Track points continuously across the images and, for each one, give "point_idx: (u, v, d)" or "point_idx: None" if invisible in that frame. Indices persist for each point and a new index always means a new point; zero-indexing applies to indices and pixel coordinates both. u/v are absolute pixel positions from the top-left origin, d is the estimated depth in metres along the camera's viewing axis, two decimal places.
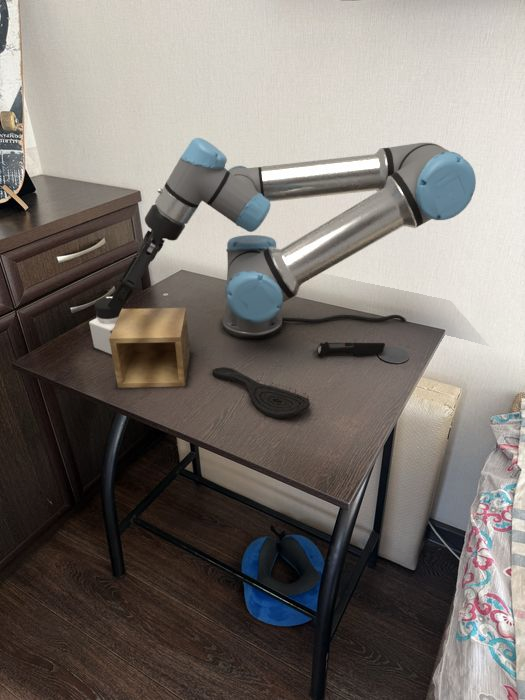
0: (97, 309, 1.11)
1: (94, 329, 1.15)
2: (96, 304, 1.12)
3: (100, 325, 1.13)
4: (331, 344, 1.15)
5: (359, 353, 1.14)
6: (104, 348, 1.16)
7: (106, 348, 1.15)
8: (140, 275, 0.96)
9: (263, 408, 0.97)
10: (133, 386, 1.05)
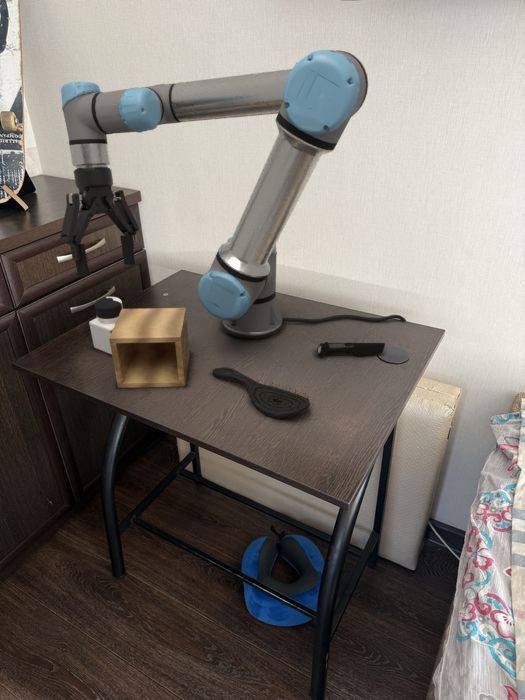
0: (97, 309, 1.12)
1: (94, 329, 1.15)
2: (96, 304, 1.12)
3: (100, 325, 1.13)
4: (331, 344, 1.15)
5: (359, 353, 1.14)
6: (104, 348, 1.16)
7: (106, 348, 1.15)
8: (69, 225, 0.99)
9: (263, 408, 0.97)
10: (133, 386, 1.05)
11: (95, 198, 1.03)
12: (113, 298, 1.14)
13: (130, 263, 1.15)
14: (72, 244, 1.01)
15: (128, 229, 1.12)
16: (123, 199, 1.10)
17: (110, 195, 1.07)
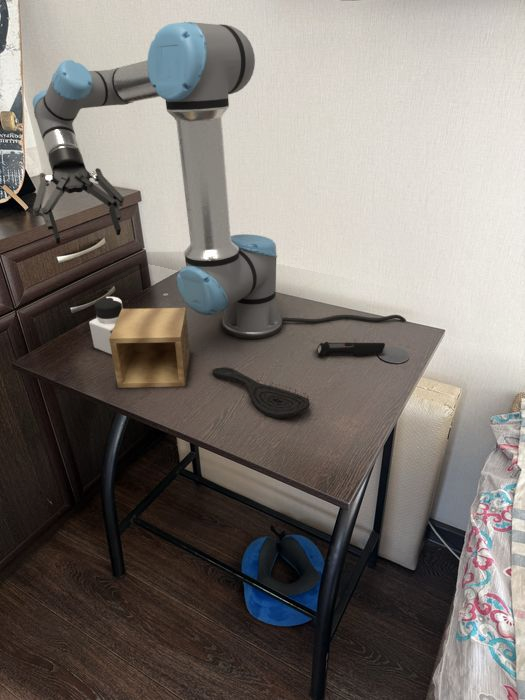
0: (97, 309, 1.12)
1: (94, 329, 1.15)
2: (96, 304, 1.12)
3: (100, 325, 1.13)
4: (331, 344, 1.15)
5: (359, 353, 1.14)
6: (104, 348, 1.16)
7: (106, 348, 1.15)
8: (36, 198, 1.12)
9: (263, 408, 0.97)
10: (133, 386, 1.05)
11: None
12: (113, 298, 1.14)
13: (117, 230, 1.17)
14: (42, 214, 1.12)
15: (109, 199, 1.17)
16: (100, 175, 1.18)
17: (83, 173, 1.17)
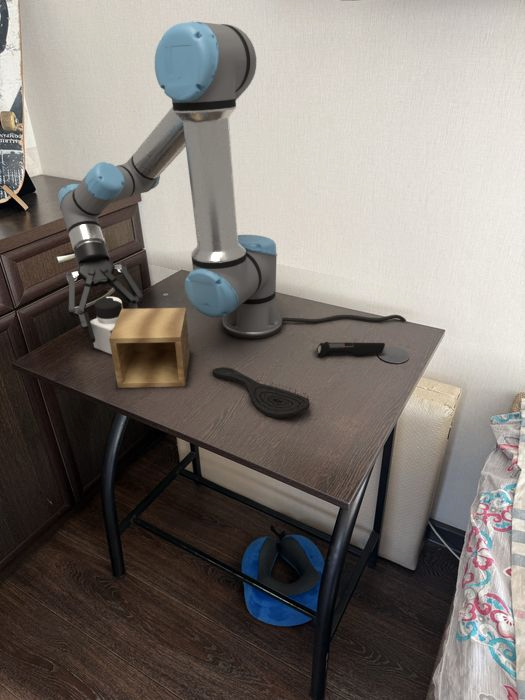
0: (97, 309, 1.12)
1: (94, 329, 1.15)
2: (96, 304, 1.12)
3: (100, 325, 1.13)
4: (331, 344, 1.15)
5: (359, 353, 1.14)
6: (104, 348, 1.16)
7: (106, 348, 1.15)
8: None
9: (263, 408, 0.97)
10: (133, 386, 1.05)
11: (89, 270, 1.15)
12: (113, 298, 1.14)
13: None
14: (77, 314, 1.13)
15: (129, 297, 1.17)
16: (125, 270, 1.19)
17: (109, 265, 1.18)
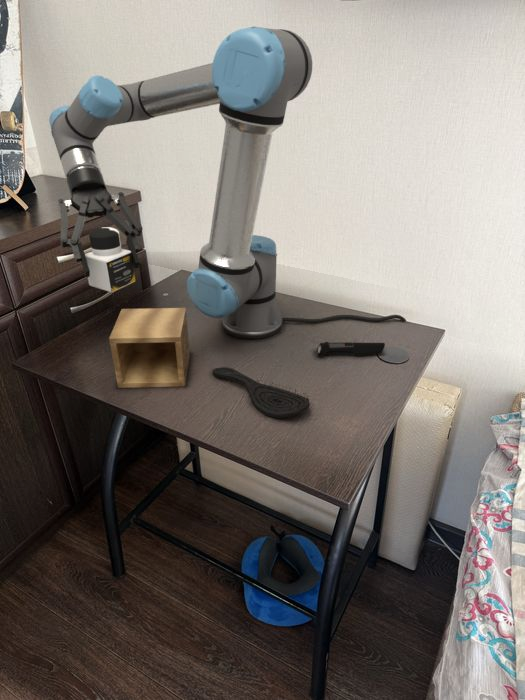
0: (92, 239, 1.01)
1: (88, 263, 1.04)
2: (91, 233, 1.01)
3: (96, 258, 1.02)
4: (331, 344, 1.15)
5: (359, 353, 1.14)
6: (100, 284, 1.05)
7: (102, 284, 1.05)
8: None
9: (263, 408, 0.97)
10: (133, 386, 1.05)
11: (83, 198, 1.05)
12: (109, 228, 1.03)
13: (135, 263, 1.05)
14: (70, 245, 1.02)
15: (127, 228, 1.06)
16: (122, 200, 1.08)
17: (105, 195, 1.07)
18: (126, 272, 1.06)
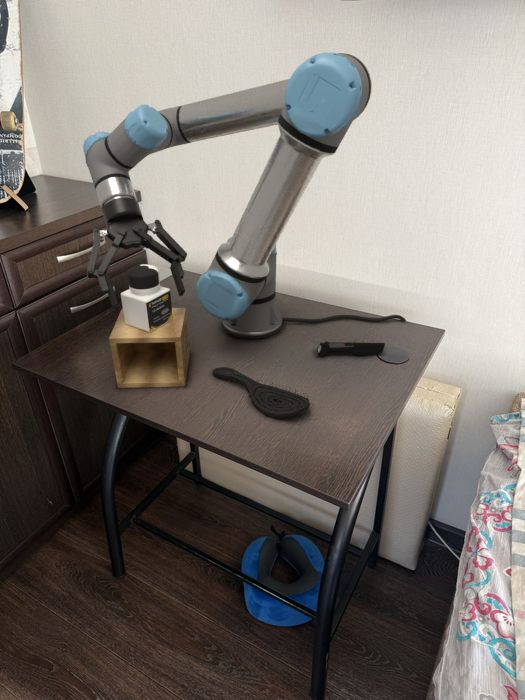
0: (131, 278, 0.96)
1: (126, 302, 1.00)
2: (129, 272, 0.97)
3: (134, 297, 0.98)
4: (331, 344, 1.15)
5: (359, 353, 1.14)
6: (137, 324, 1.01)
7: (140, 323, 1.00)
8: None
9: (263, 408, 0.97)
10: (133, 386, 1.05)
11: (120, 229, 1.00)
12: (148, 266, 0.99)
13: (180, 291, 1.01)
14: (97, 276, 0.97)
15: (171, 255, 1.02)
16: (160, 227, 1.03)
17: (142, 226, 1.02)
18: (165, 311, 1.02)
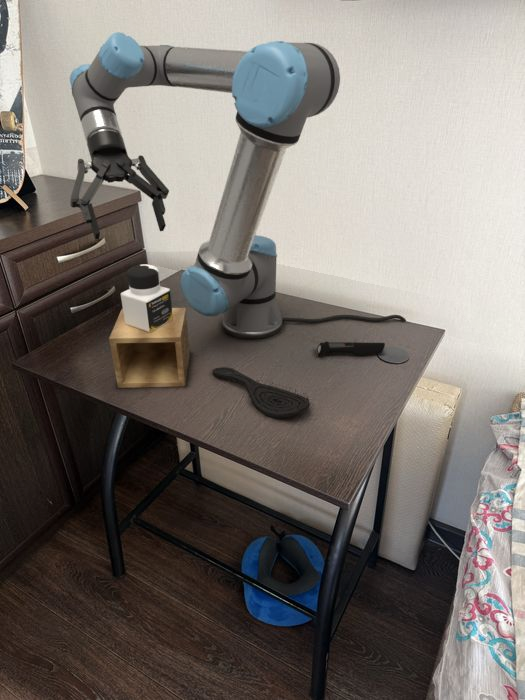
0: (131, 278, 0.96)
1: (126, 302, 1.00)
2: (129, 272, 0.97)
3: (134, 297, 0.98)
4: (331, 344, 1.15)
5: (359, 353, 1.14)
6: (137, 324, 1.01)
7: (140, 323, 1.00)
8: None
9: (263, 408, 0.97)
10: (133, 386, 1.05)
11: (104, 162, 1.03)
12: (148, 266, 0.99)
13: (161, 225, 1.05)
14: (80, 206, 1.00)
15: (153, 191, 1.06)
16: (144, 163, 1.06)
17: (125, 160, 1.05)
18: (165, 311, 1.02)
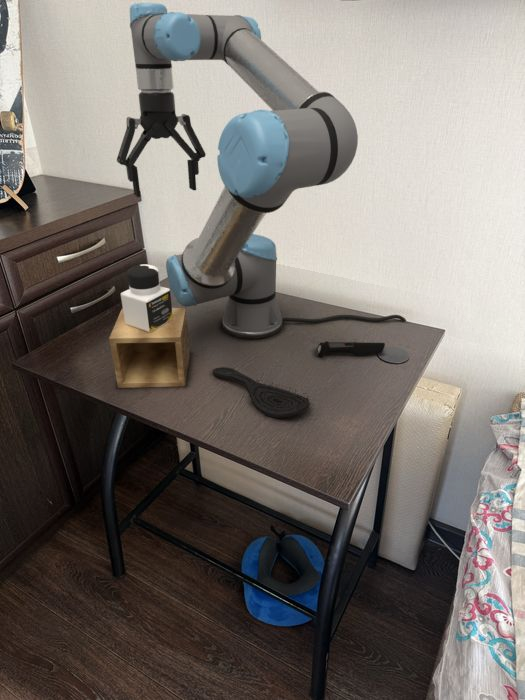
0: (131, 278, 0.96)
1: (126, 302, 1.00)
2: (129, 272, 0.97)
3: (134, 297, 0.98)
4: (331, 344, 1.16)
5: (359, 353, 1.14)
6: (137, 324, 1.01)
7: (140, 323, 1.00)
8: (122, 148, 1.08)
9: (263, 408, 0.97)
10: (133, 386, 1.05)
11: (153, 123, 1.08)
12: (148, 266, 0.99)
13: (192, 188, 1.20)
14: (126, 166, 1.11)
15: (192, 155, 1.16)
16: (188, 124, 1.12)
17: (173, 120, 1.10)
18: (165, 311, 1.02)
